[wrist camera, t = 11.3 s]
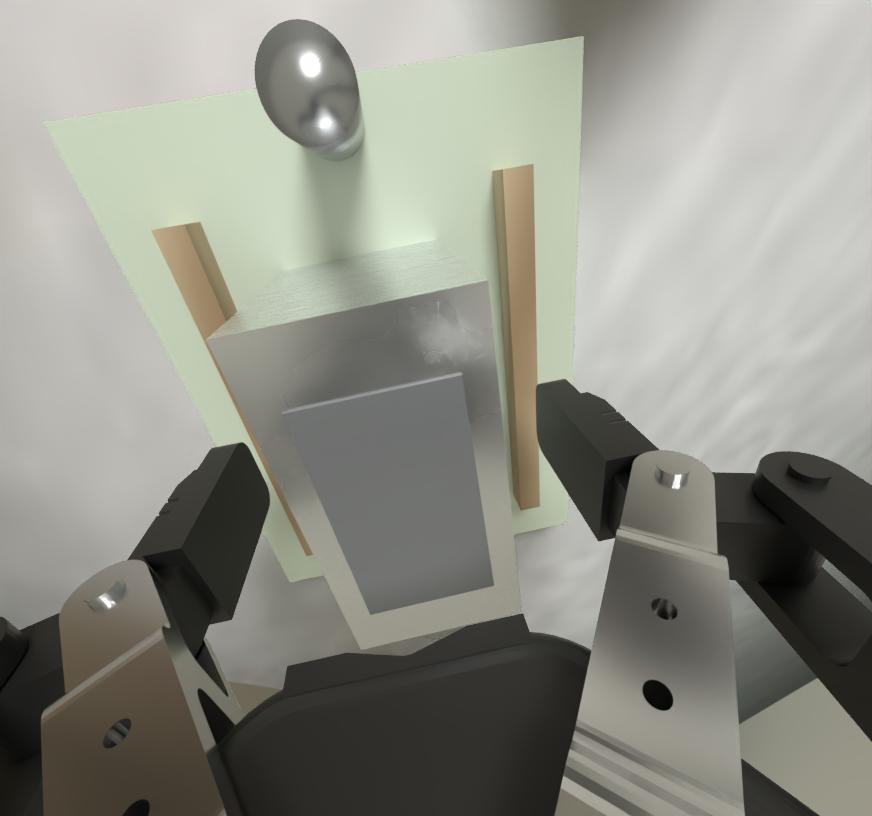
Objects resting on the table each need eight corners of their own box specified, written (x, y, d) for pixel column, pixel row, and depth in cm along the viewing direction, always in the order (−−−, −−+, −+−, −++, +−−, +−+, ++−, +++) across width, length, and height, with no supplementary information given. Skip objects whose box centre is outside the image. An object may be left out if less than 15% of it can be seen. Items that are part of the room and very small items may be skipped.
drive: (436, 238, 11) (489, 281, 6) (473, 474, 16) (522, 614, 11) (284, 270, 11) (204, 341, 6) (365, 498, 16) (360, 652, 10)
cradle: (558, 53, 11) (702, -54, 6) (555, 500, 19) (613, 601, 15) (84, 130, 10) (-165, 80, 6) (295, 555, 19) (268, 679, 14)
